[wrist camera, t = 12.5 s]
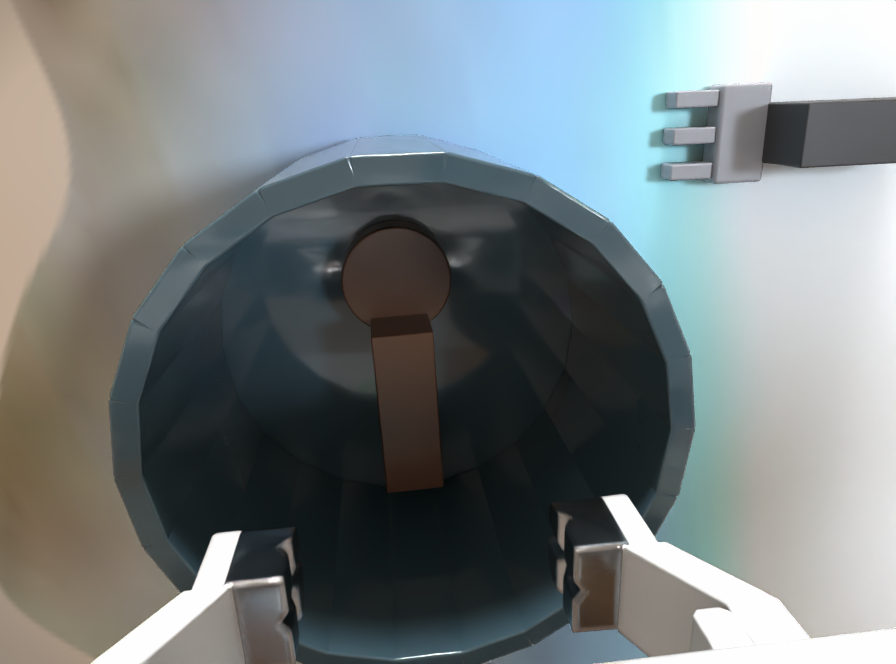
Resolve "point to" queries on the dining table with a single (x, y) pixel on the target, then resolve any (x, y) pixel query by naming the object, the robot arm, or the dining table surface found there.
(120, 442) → the blue-grey round hollow container
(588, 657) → the dining table surface
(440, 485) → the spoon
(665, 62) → the dining table surface
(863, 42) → the dining table surface
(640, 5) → the dining table surface
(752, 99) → the two-tone pronged bar
